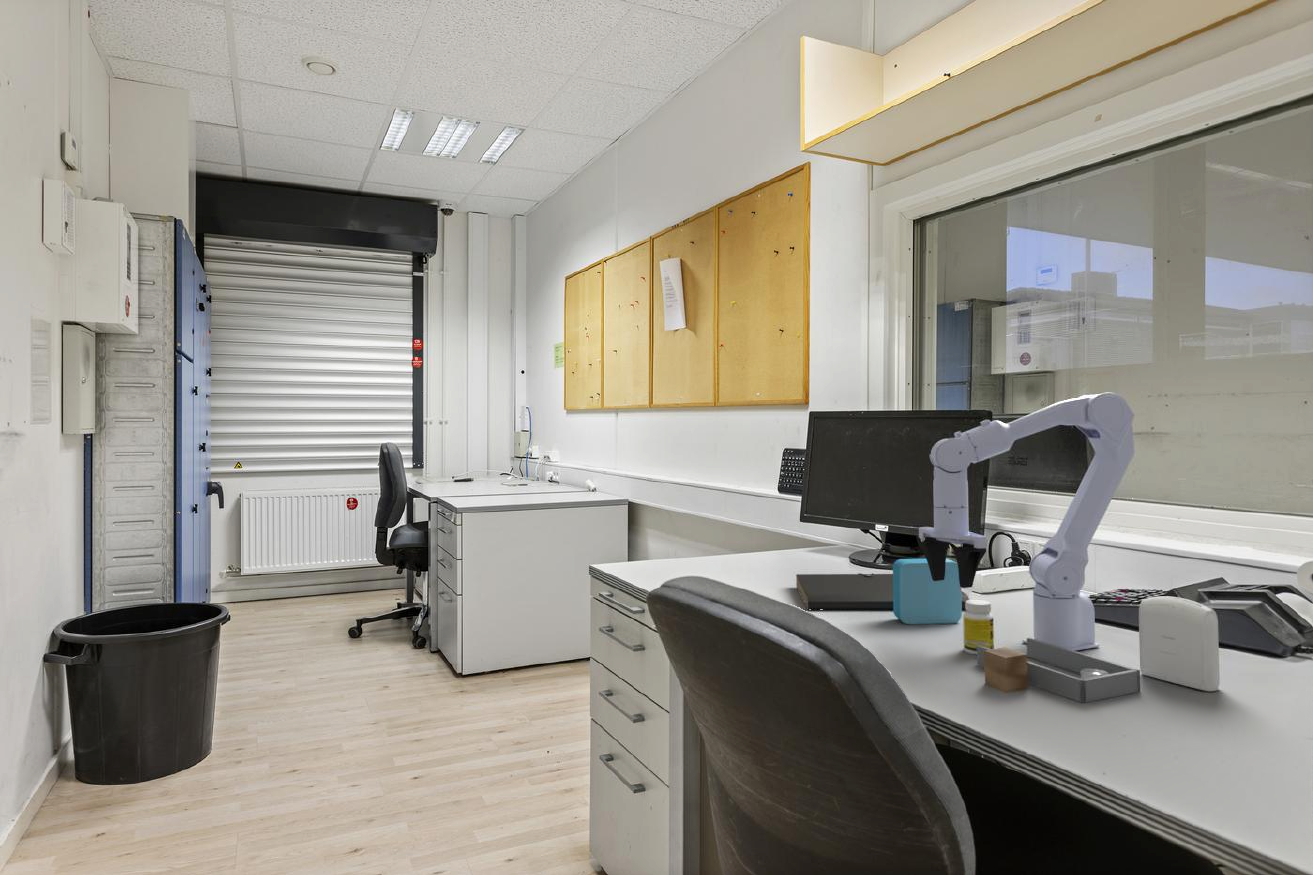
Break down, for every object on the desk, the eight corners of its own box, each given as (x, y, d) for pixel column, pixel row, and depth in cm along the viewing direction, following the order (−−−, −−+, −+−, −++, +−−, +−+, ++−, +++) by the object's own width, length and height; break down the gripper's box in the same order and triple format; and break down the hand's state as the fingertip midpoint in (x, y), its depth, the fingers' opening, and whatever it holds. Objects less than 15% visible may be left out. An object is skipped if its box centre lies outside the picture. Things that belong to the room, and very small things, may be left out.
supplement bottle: (996, 656, 128) (996, 605, 128) (966, 655, 129) (965, 604, 129) (990, 648, 133) (989, 599, 132) (961, 647, 133) (960, 598, 133)
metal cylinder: (1093, 686, 113) (1092, 667, 113) (1115, 694, 109) (1115, 674, 109) (1075, 690, 111) (1074, 670, 111) (1097, 697, 108) (1097, 677, 108)
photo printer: (1134, 674, 117) (1133, 593, 117) (1152, 670, 119) (1151, 590, 119) (1207, 694, 108) (1206, 606, 108) (1225, 689, 110) (1224, 603, 110)
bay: (1029, 655, 128) (1029, 637, 128) (1140, 691, 110) (1139, 670, 110) (977, 664, 124) (976, 645, 124) (1082, 703, 106) (1082, 681, 106)
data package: (952, 617, 154) (951, 557, 154) (962, 623, 150) (961, 561, 149) (893, 619, 154) (892, 559, 154) (900, 624, 149) (899, 562, 149)
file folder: (936, 571, 183) (969, 595, 159) (936, 589, 184) (970, 615, 159) (795, 572, 186) (807, 595, 162) (796, 589, 186) (808, 615, 162)
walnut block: (1005, 680, 116) (1005, 647, 116) (1027, 688, 112) (1026, 654, 112) (985, 684, 114) (984, 650, 114) (1006, 692, 111) (1005, 657, 111)
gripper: (904, 504, 141) (906, 578, 141) (963, 511, 128) (964, 593, 128) (935, 502, 144) (936, 575, 144) (996, 509, 130) (997, 589, 131)
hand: (952, 583), depth 136 cm, fingers open, 6 cm apart
